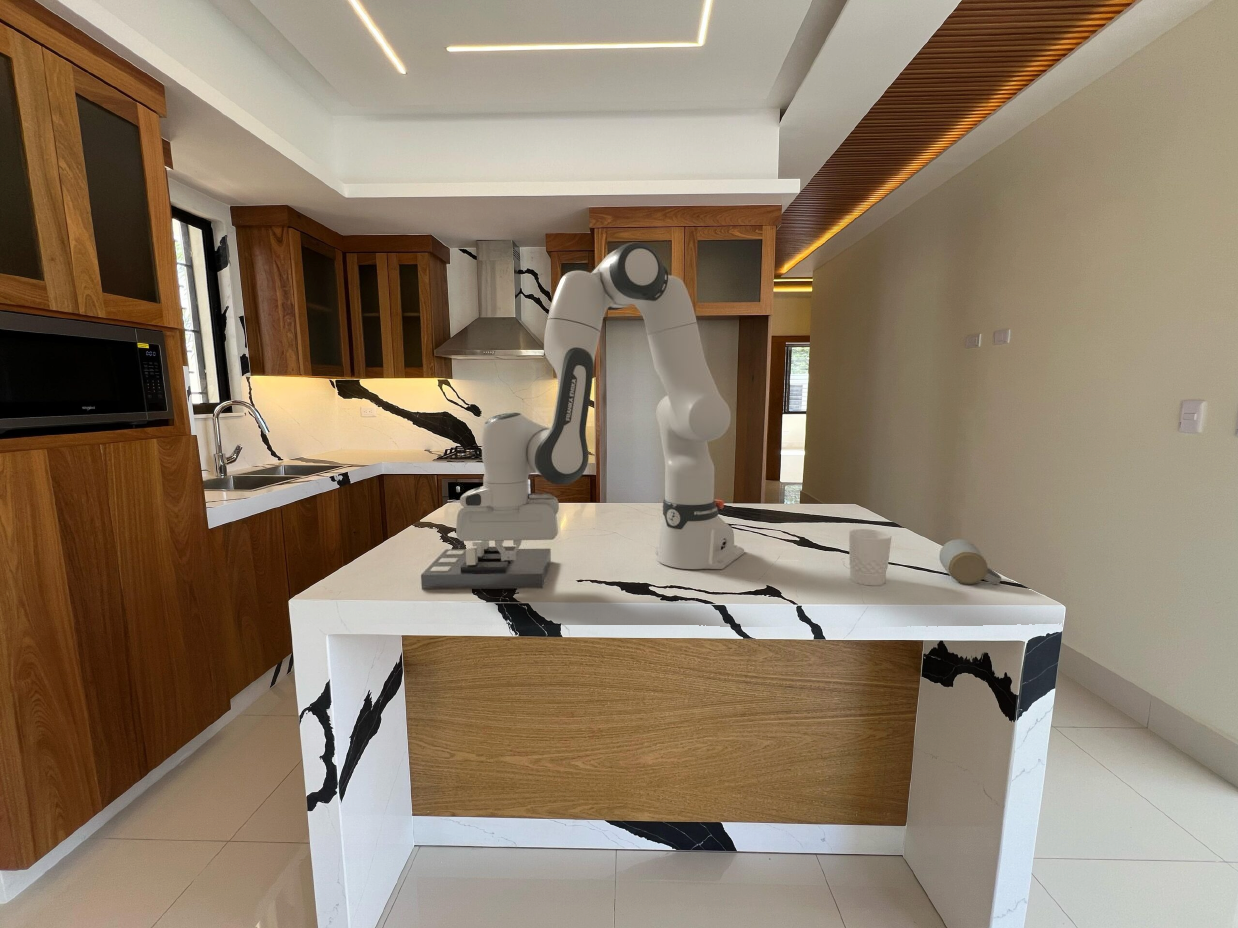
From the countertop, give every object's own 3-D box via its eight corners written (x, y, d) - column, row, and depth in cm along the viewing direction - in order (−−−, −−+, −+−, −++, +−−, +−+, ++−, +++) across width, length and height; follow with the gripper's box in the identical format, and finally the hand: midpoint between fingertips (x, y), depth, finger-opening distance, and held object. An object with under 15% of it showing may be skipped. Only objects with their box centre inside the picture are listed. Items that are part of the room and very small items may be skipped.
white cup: (877, 590, 109) (881, 541, 108) (839, 579, 115) (842, 533, 114) (894, 580, 115) (898, 534, 113) (857, 571, 120) (860, 526, 119)
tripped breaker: (477, 561, 114) (477, 546, 113) (475, 564, 112) (474, 549, 111) (469, 561, 114) (468, 546, 113) (466, 564, 112) (465, 549, 111)
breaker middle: (483, 553, 119) (483, 538, 119) (481, 556, 117) (481, 541, 117) (475, 553, 119) (475, 538, 119) (473, 556, 117) (472, 541, 117)
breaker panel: (550, 561, 127) (550, 544, 127) (542, 587, 111) (541, 568, 110) (446, 561, 127) (445, 545, 126) (421, 589, 110) (420, 569, 110)
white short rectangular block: (489, 545, 125) (488, 532, 124) (487, 548, 123) (486, 534, 122) (481, 545, 125) (480, 532, 124) (479, 548, 122) (478, 534, 122)
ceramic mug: (946, 583, 113) (950, 547, 112) (937, 571, 120) (940, 537, 119) (1007, 590, 110) (1011, 553, 108) (993, 576, 117) (997, 541, 116)
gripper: (559, 490, 114) (561, 554, 116) (460, 491, 114) (463, 556, 116) (556, 496, 108) (558, 564, 110) (451, 498, 108) (455, 566, 110)
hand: (509, 560), depth 113 cm, fingers closed
